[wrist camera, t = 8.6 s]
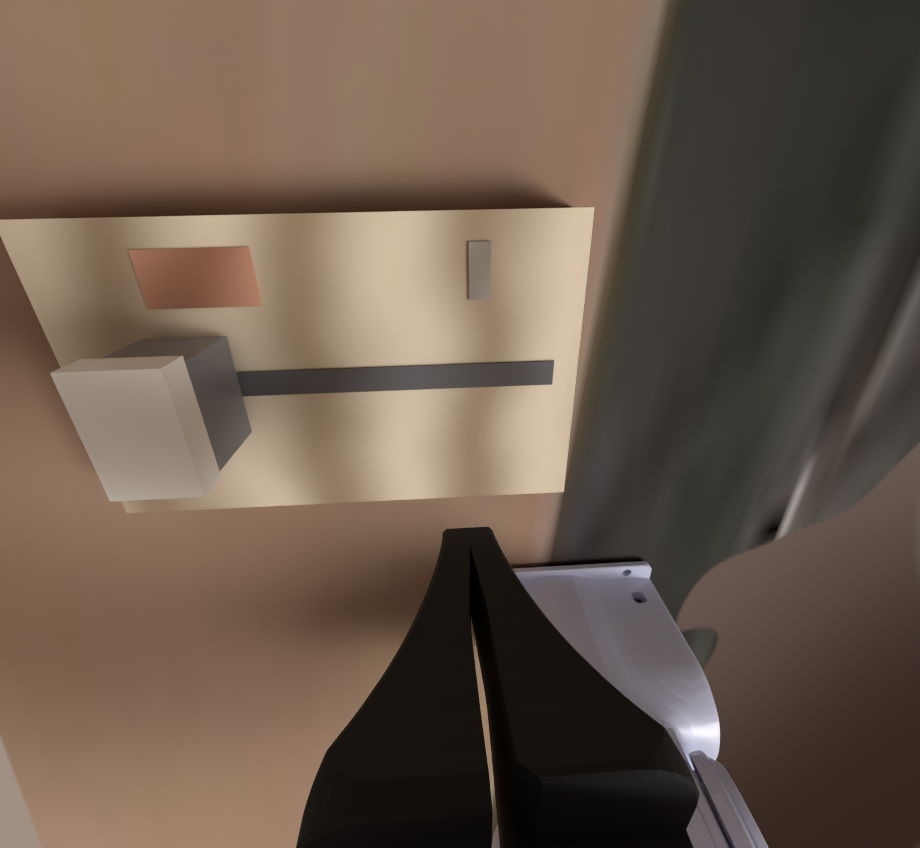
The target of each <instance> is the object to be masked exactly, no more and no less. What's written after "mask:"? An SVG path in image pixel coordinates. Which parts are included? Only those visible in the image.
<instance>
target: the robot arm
mask: <svg viewBox="0 0 920 848" xmlns="http://www.w3.org/2000/svg"><path fill="white" fill-rule="evenodd" d="M625 570H626V571H625ZM650 574H651V567H650V566H649V564H648V563H647V562H645V561H638V562H620V563H603V564H585V565H567V566H549V567H532V568H514V569H512V568H511V566H510V564H509V563H508V561H507V559H506V557H505V556H504V554H503V552H502V550H501V548H500V546H499V544H498V542H497V540H496V538H495V536H494V534H493V531H492V529H490V528H489V527H476V528H457V529H446V530H445V531H444V532H443V538H442V545H441V550H440V554H439V558H438V561H437V565H436V568H435V571H434V573H433V576H432V579H431V582H430V585H429V588H428V590H427V592H426V595H425V597H424V599H423V602H422V604H421V607H420V609H419V611H418V613H417V615H416V618H415V620H414V622H413V624H412V626H411V628H410V630H409V632H408V633H407V635H406V637H405V639H404V641H403V643H402V645H401V646H400V648H399V650H398V651H397V653H396V655H395V657H394V658H393V660H392V662H391V663H390V665H389V667H388V668H387V670H386V671H385V673H384V675H383V676H382V678H381V679H380V680H379V682H378V683H377V685H376V686H375V688H374V689H373V691H372V692H371V693H370V695H369V696H368V698H367V699H366V701H365V702H364V704H363V705H362V706H361V708H360V709H359V711H358V712H357V713H356V715H355V716H354V717H353V718H352V720H351V721H350V722H349V723H348V725H347V726H346V727H345V728H344V730H343V731H342V732H341V733H340V735H339V736H338V737H337V739H336V740H335V741H334V742H333V744H332V745H331V746H330V747H329V749H328V750H327V752H326V754H325V756H324V758H323V761H322V763H321V765H320V768H319V770H318V772H317V775H316V777H315V780H314V783H313V785H312V788H311V791H310V794H309V797H308V800H307V803H306V807H305V810H304V814H303V818H302V823H301V827H300V832H299V837H298V841H297V846H296V848H491V845H492V848H768V846H767V844H766V842H765V840H764V838H763V836H762V834H761V832H760V830H759V828H758V827H757V825H756V823H755V821H754V819H753V817H752V815H751V813H750V811H749V809H748V808H747V806H746V804H745V802H744V800H743V798H742V797H741V795H740V793H739V791H738V790H737V788H736V786H735V785H734V783H733V781H732V779H731V777H730V776H729V774H728V773H727V771H726V770H725V768H724V767H723V766H722V765H721V764H720V763H719V762H717V761H715V760H716V758H717V756H718V752H719V746H720V727H719V719H718V714H717V710H716V706H715V703H714V699H713V696H712V693H711V690H710V687H709V685H708V682H707V679H706V677H705V675H704V673H703V670H702V668H701V666H700V665H699V663H698V661H697V659H696V657H695V656H694V654H693V652H692V651H691V649H690V647H689V645H688V644H687V642H686V640H685V639H684V637H683V635H682V633H681V632H680V630H679V628H678V627H677V625H676V623H675V621H674V620H673V618H672V616H671V615H670V613H669V611H668V609H667V608H666V606H665V604H664V603H663V601H662V599H661V597H660V596H659V594H658V592H657V591H656V589H655V587H654V585H653V584H652V582H651V580H650V579H649V578H650ZM471 617H472V623H473V629H474V634H475V640H476V645H477V651H478V657H479V662H480V668H481V673H482V679H483V684H484V690H485V696H486V703H487V711H488V722H489V732H490V743H491V753H492V764H493V775H494V786H495V797H496V809H497V820H498V825H497V828H496V831H495V833H494V837H493V842H492V801H491V791H490V781H489V771H488V764H487V757H486V749H485V742H484V734H483V727H482V719H481V711H480V703H479V695H478V687H477V678H476V670H475V661H474V652H473V643H472V634H471ZM693 770H695V772H696V775H697V777H698V779H699V781H700V785H701V787H700V785H699V783H698V780H697V779H696V776H695V774H694V772H693ZM701 788H702V789H701ZM702 790H703V791H702Z"/></svg>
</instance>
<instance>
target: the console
mask: <svg viewBox="0 0 920 848" xmlns="http://www.w3.org/2000/svg"><path fill="white" fill-rule="evenodd" d="M594 208H595V207H567V208H520V209H472V210H425V211H377V212H330V213H282V214H235V215H187V216H140V217H92V218H47V219H11V220H0V237H1V239H2V241H3V243H4V245H5V247H6V250H7V252H8V254H9V256H10V258H11V261H12V263H13V265H14V267H15V269H16V272H17V274H18V276H19V278H20V280H21V283H22V285H23V287H24V289H25V291H26V294H27V296H28V298H29V300H30V302H31V304H32V307H33V309H34V311H35V313H36V315H37V318H38V320H39V322H40V324H41V326H42V329H43V331H44V333H45V335H46V337H47V340H48V342H49V344H50V346H51V348H52V350H53V353H54V355H55V357H56V359H57V361H58V364H59V366H60V368H62V367H64V366H66V365H69V364H71V363H73V362H76V361H78V360H80V359H99V358H101V357H104V356H106V355H108V354H110V353H112V352H115V351H117V350H119V349H121V348H123V347H126V346H128V345H130V344H132V343H135V342H137V341H139V340H141V339H150V338H181V337H212V336H227V340H228V344H229V348H230V351H231V355H232V359H233V363H234V366H235V370H236V374H237V378H238V381H239V385H240V389H241V393H242V396H243V400H244V404H245V408H246V412H247V415H248V419H249V423H250V427H251V430H252V432H251V434H250V435H249V436H248V437H247V439H246V440H245V441H244V442H243V444H242V445H241V446H240V447H239V448H238V450H237V451H236V452H235V453H234V455H233V456H232V457H231V458H230V460H229V461H228V462H227V463H226V465H225V466H224V467H223V468H222V470H221V471H220V474H221V478H220V479H219V480H218V481H217V483H216V484H215V485H214V486H213V488H212V489H211V490H210V492H209V493H208V494H207V495H206V497H195V498H174V499H154V500H133V501H121V502H122V504H123V506H124V508H125V510H126V513H143V512H163V511H184V510H204V509H224V508H245V507H265V506H285V505H306V504H326V503H347V502H367V501H387V500H408V499H428V498H449V497H469V496H489V495H510V494H530V493H550V492H564V484H565V475H566V466H567V457H568V447H569V438H570V429H571V420H572V411H573V401H574V392H575V383H576V374H577V365H578V355H579V346H580V337H581V328H582V318H583V309H584V300H585V291H586V282H587V272H588V263H589V254H590V245H591V236H592V226H593V217H594Z"/></svg>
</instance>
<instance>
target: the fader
mask: <svg viewBox="0 0 920 848" xmlns="http://www.w3.org/2000/svg"><path fill="white" fill-rule="evenodd" d="M50 375H51V377H52V379H53V381H54V383H55V385H56V388H57V390H58V392H59V394H60V396H61V398H62V400H63V402H64V405H65V407H66V409H67V411H68V413H69V415H70V417H71V419H72V422H73V424H74V426H75V428H76V430H77V432H78V434H79V436H80V439H81V441H82V443H83V445H84V447H85V449H86V451H87V453H88V455H89V458H90V460H91V462H92V464H93V466H94V468H95V470H96V472H97V475H98V477H99V479H100V481H101V483H102V485H103V487H104V489H105V492H106V494H107V496H108V498H109V500H110V502H112V501H133V500H154V499H174V498H195V497H206V495H207V494H208V493H209V492H210V490H211V489H212V488H213V486H214V485H215V484H216V483H217V481H218V480H219V479H220V478H221V474H220V471H221V470H222V468H223V467H224V466H225V465H226V463H227V462H228V461H229V460H230V458H231V457H232V456H233V455H234V453H235V452H236V451H237V450H238V448H239V447H240V446H241V445H242V444H243V442H244V441H245V440H246V439H247V437H248V436H249V435H250V434H251V432H252V430H251V427H250V423H249V419H248V415H247V412H246V408H245V404H244V400H243V396H242V393H241V389H240V385H239V381H238V378H237V374H236V370H235V366H234V363H233V359H232V355H231V351H230V348H229V344H228V340H227V336H212V337H181V338H150V339H141V340H139V341H137V342H135V343H132V344H130V345H128V346H126V347H123V348H121V349H119V350H117V351H115V352H112V353H110V354H108V355H106V356H104V357H101V358H99V359H80V360H78V361H76V362H73V363H71V364H69V365H66V366H64V367H62V368H59V369H57V370H55V371H52V372H50Z"/></svg>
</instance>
